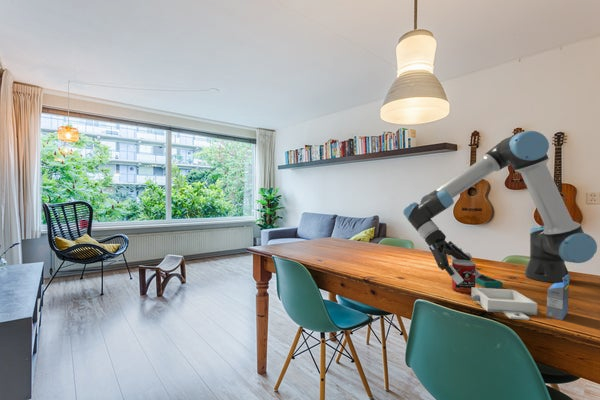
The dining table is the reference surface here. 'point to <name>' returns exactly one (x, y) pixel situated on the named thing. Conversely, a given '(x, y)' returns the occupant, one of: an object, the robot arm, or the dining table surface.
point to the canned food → (464, 275)
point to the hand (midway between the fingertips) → (469, 279)
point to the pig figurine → (465, 253)
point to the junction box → (505, 302)
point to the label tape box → (558, 299)
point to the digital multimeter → (488, 282)
